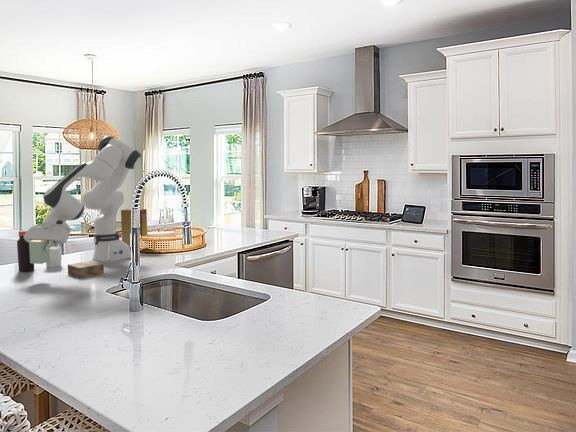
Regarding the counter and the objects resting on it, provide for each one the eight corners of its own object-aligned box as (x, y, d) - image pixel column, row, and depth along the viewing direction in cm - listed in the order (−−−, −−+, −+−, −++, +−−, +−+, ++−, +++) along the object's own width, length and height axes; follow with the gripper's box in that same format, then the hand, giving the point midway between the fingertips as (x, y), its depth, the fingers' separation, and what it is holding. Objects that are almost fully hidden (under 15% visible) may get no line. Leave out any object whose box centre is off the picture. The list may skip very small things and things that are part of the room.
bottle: (27, 272, 230) (25, 231, 228) (15, 272, 231) (12, 231, 229) (37, 269, 237) (35, 230, 235) (25, 269, 238) (23, 229, 236)
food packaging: (148, 247, 300) (147, 208, 297) (142, 250, 290) (141, 210, 288) (128, 247, 301) (126, 208, 298) (121, 250, 292) (120, 210, 289)
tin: (39, 260, 217) (38, 239, 216) (50, 261, 216) (49, 239, 215) (29, 263, 211) (28, 241, 210) (41, 263, 210) (40, 241, 209)
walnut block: (92, 270, 235) (92, 260, 234) (104, 274, 227) (103, 264, 226) (68, 274, 226) (67, 264, 226) (79, 278, 218) (78, 268, 218)
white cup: (41, 267, 242) (40, 248, 241) (55, 264, 249) (54, 245, 248) (51, 268, 239) (50, 249, 238) (65, 265, 246) (64, 246, 245)
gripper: (29, 220, 221) (14, 244, 212) (68, 222, 216) (54, 246, 208) (36, 228, 225) (22, 252, 217) (74, 230, 221) (61, 254, 213)
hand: (38, 249), depth 212 cm, fingers closed on tin, 6 cm apart
